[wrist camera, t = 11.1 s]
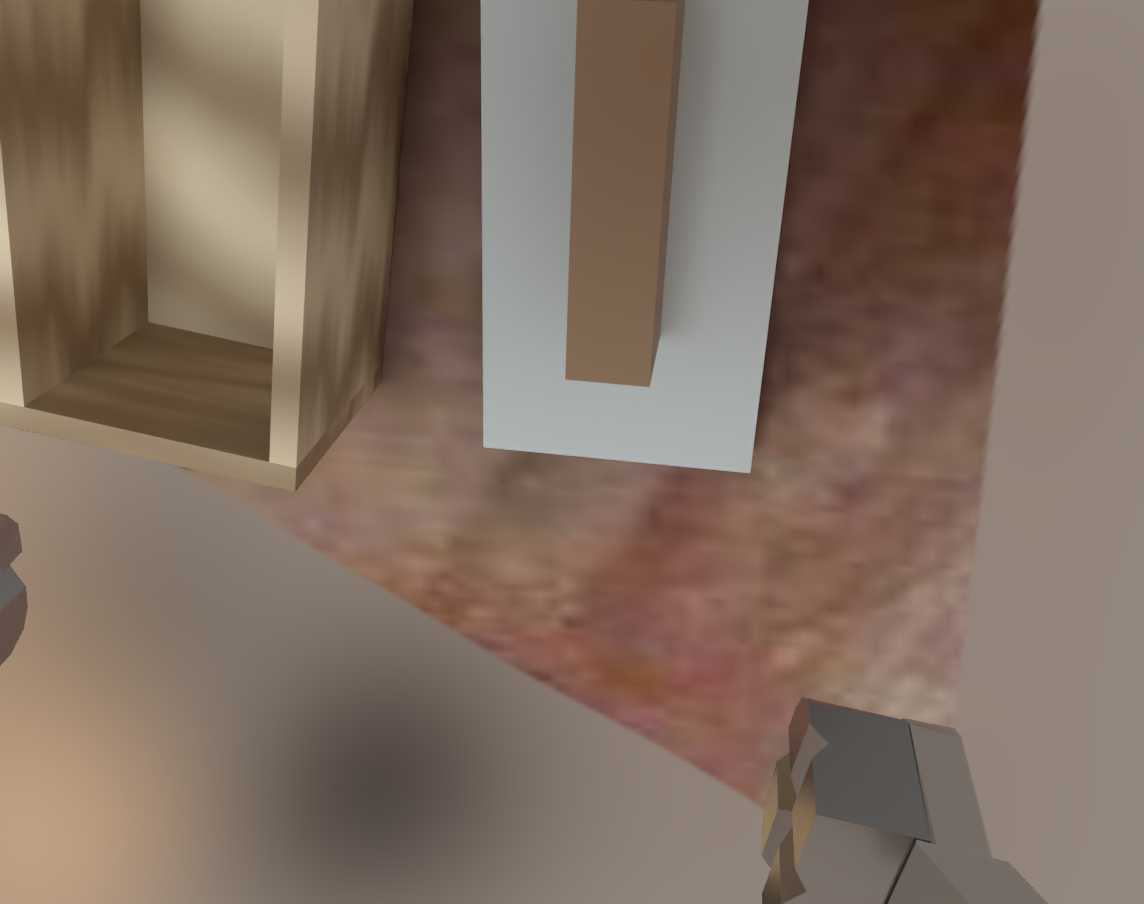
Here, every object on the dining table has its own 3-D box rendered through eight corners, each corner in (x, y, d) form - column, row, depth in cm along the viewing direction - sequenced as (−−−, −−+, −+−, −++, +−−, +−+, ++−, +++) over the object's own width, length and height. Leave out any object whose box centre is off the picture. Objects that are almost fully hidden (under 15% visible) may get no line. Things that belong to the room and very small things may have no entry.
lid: (497, -201, 29) (439, -226, 24) (827, -192, 28) (846, -217, 23) (497, 419, 38) (454, 505, 33) (750, 443, 37) (750, 536, 32)
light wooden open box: (119, -305, 29) (-81, -372, 22) (435, -247, 29) (333, -297, 22) (138, 330, 38) (0, 425, 31) (380, 382, 38) (295, 492, 31)
